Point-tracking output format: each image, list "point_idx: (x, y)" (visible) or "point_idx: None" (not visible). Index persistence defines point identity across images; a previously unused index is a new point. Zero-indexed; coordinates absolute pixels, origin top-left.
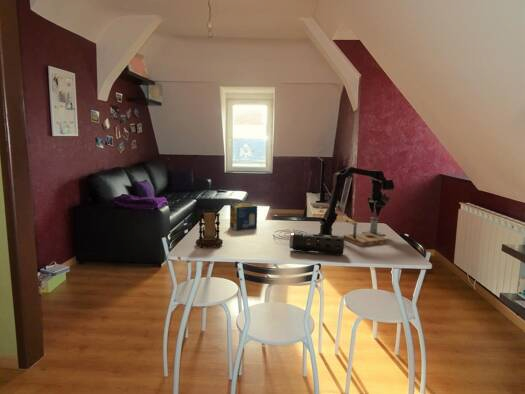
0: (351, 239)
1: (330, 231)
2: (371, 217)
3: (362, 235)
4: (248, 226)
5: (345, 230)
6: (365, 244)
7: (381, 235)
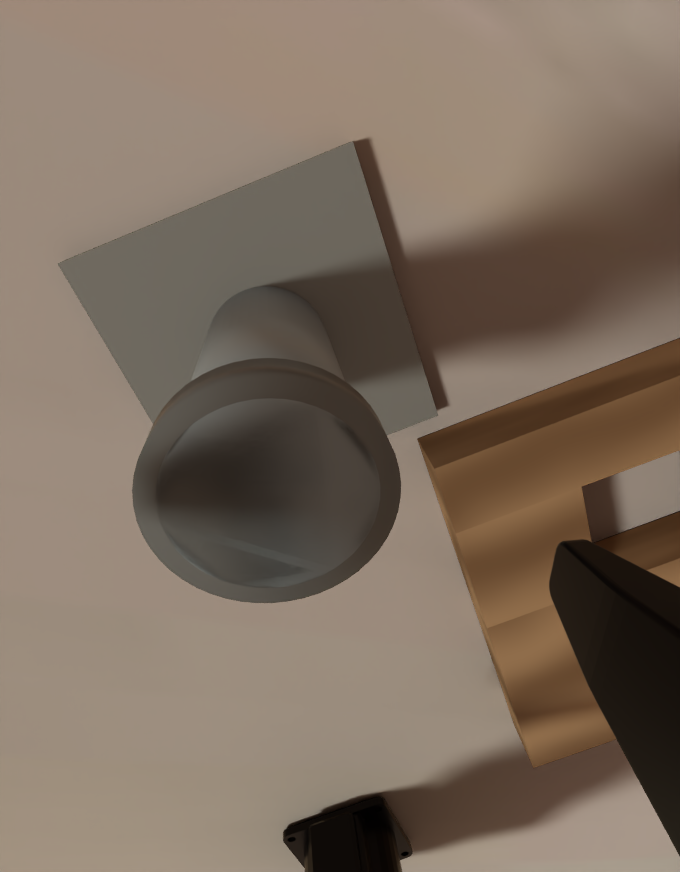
0: None
1: (369, 853)
2: (184, 566)
3: None
4: None
5: (91, 672)
6: None
7: (377, 227)
